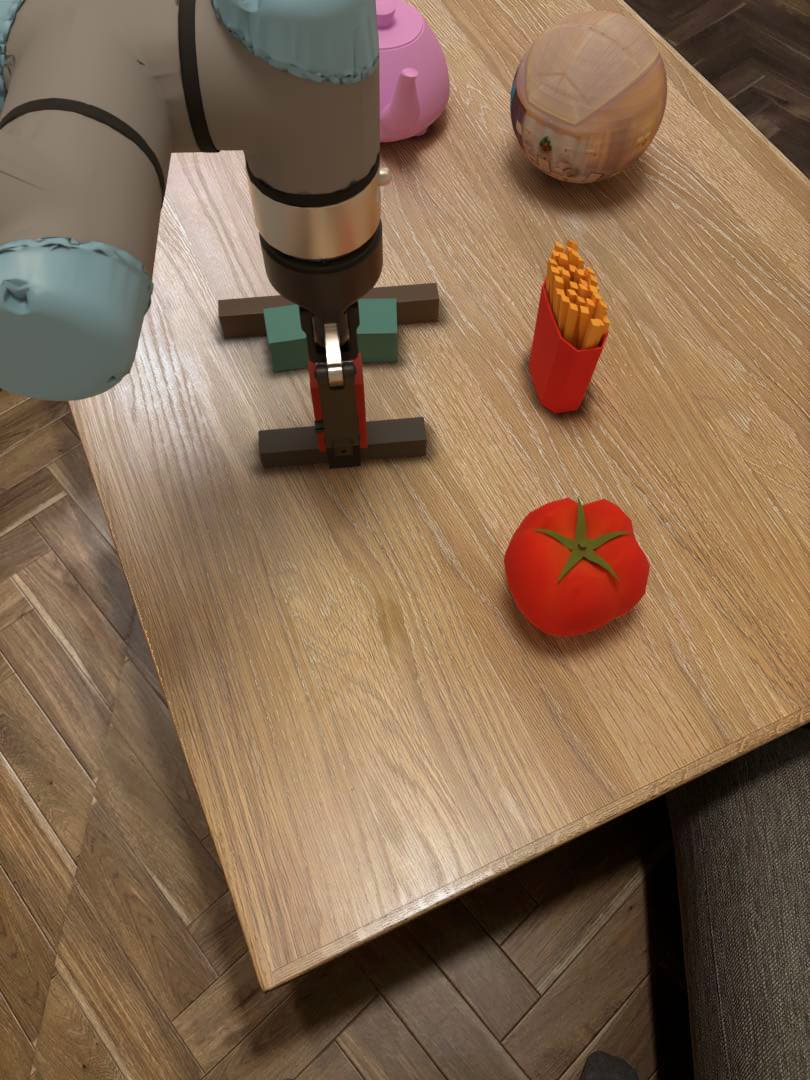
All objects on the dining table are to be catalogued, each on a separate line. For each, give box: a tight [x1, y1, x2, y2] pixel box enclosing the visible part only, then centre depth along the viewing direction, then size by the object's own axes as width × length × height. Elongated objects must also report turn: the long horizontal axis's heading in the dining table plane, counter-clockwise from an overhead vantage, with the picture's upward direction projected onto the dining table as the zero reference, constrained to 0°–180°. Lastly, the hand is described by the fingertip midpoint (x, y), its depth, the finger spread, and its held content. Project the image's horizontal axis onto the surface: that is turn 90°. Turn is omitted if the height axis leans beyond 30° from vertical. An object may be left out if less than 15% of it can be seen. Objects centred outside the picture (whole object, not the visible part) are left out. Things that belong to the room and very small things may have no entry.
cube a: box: [263, 304, 309, 373], centre depth 78 cm, size 4×4×4 cm
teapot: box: [376, 0, 451, 143], centre depth 89 cm, size 20×14×12 cm
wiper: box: [257, 353, 428, 470], centre depth 70 cm, size 3×14×11 cm, turn 96°
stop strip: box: [217, 282, 440, 340], centre depth 80 cm, size 2×20×3 cm, turn 97°
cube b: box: [357, 298, 398, 364], centre depth 78 cm, size 4×4×4 cm
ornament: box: [509, 10, 668, 184], centre depth 84 cm, size 15×15×15 cm
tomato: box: [503, 496, 651, 638], centre depth 65 cm, size 11×11×9 cm
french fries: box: [528, 238, 611, 414], centre depth 72 cm, size 9×4×13 cm, turn 11°
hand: (342, 437), depth 73 cm, fingers open, 4 cm apart
